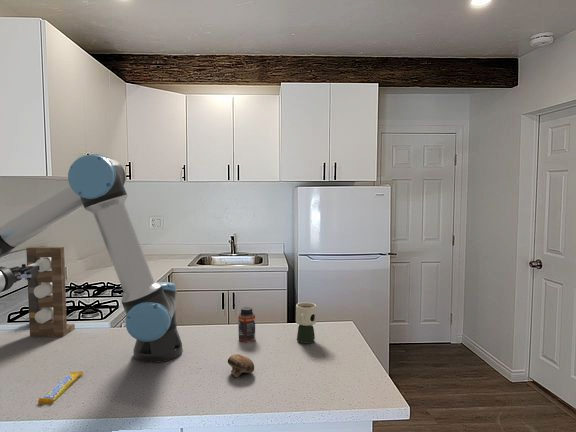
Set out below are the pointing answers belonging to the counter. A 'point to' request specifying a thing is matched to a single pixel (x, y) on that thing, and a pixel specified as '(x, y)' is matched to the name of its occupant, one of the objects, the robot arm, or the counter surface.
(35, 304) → the switch panel
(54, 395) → the candy bar
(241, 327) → the supplement bottle
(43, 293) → the middle button
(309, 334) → the character mug
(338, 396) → the counter surface
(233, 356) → the mushroom
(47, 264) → the top button
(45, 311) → the bottom button
